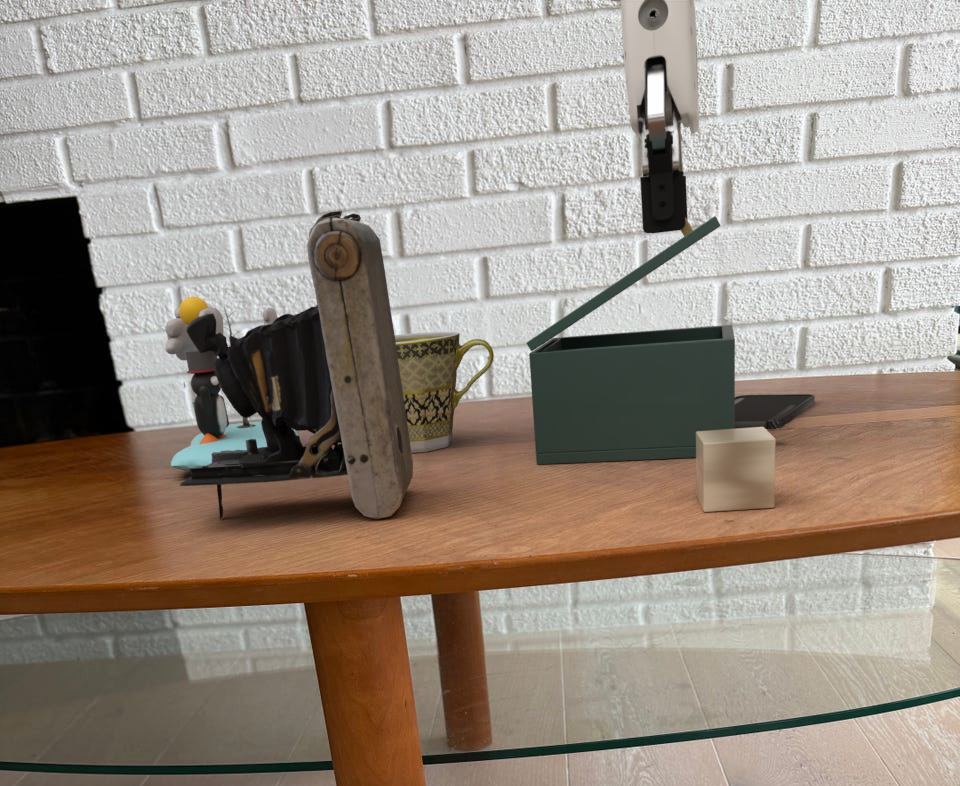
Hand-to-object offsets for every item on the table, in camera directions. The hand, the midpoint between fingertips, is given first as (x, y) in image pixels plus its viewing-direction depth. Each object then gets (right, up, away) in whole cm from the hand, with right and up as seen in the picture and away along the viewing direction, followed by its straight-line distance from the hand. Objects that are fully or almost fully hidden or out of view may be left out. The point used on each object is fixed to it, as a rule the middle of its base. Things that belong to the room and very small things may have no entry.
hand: (666, 228), depth 80 cm
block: (+2, -24, -14) cm, 28 cm away
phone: (+12, -12, +16) cm, 23 cm away
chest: (-1, -16, +7) cm, 17 cm away
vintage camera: (-27, -24, -6) cm, 37 cm away
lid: (-3, -4, +2) cm, 5 cm away
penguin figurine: (-38, -15, +18) cm, 45 cm away
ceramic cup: (-19, -15, +16) cm, 29 cm away
